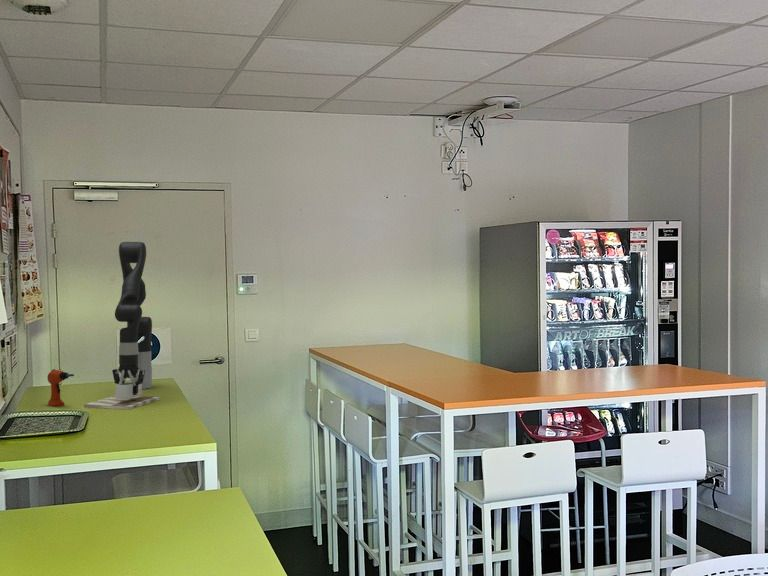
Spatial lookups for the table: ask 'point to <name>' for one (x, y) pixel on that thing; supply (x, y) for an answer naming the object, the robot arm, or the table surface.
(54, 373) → the toy drill
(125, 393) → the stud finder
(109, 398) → the subfloor panel
